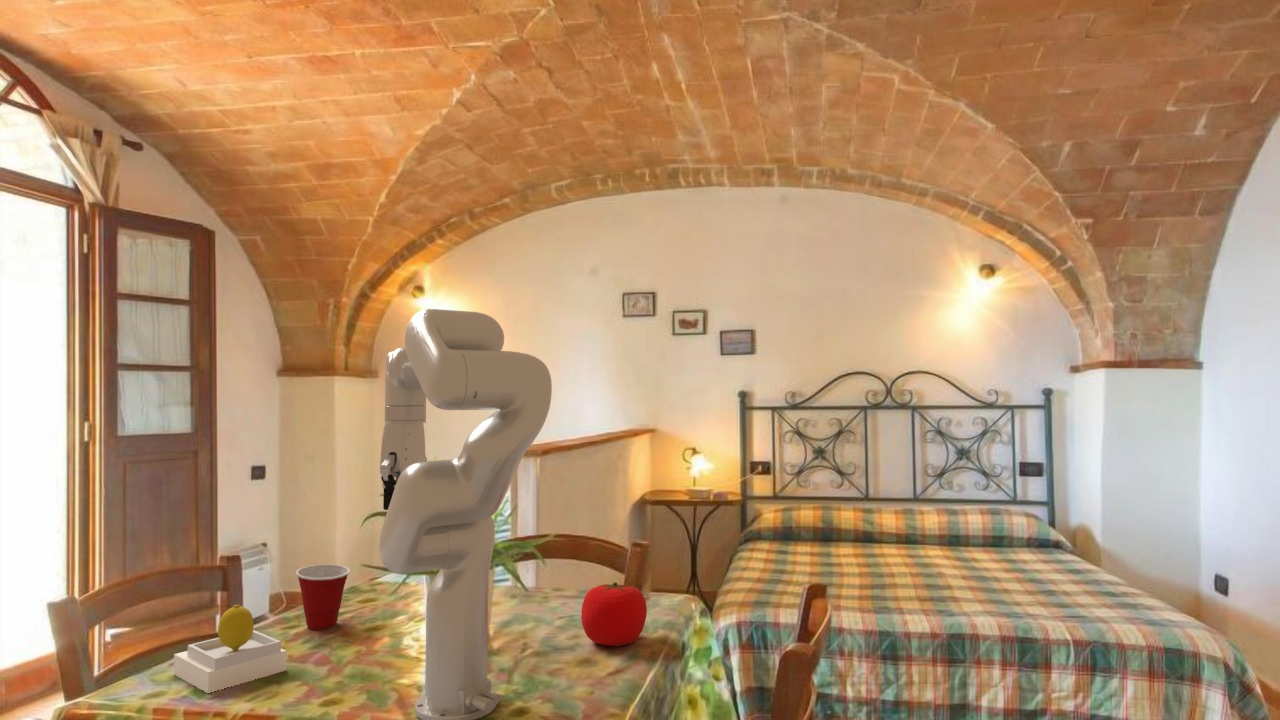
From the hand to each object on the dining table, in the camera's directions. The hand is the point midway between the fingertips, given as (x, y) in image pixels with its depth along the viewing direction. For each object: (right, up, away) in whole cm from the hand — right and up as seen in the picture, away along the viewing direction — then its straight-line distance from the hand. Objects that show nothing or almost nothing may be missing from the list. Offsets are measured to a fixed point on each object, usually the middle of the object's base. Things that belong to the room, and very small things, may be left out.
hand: (404, 505), depth 139 cm
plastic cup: (-23, -29, +18) cm, 41 cm away
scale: (-28, -28, -9) cm, 41 cm away
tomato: (+39, -29, +7) cm, 49 cm away
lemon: (-27, -24, -9) cm, 37 cm away
